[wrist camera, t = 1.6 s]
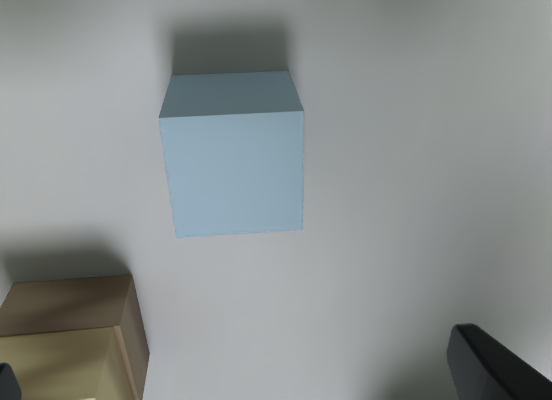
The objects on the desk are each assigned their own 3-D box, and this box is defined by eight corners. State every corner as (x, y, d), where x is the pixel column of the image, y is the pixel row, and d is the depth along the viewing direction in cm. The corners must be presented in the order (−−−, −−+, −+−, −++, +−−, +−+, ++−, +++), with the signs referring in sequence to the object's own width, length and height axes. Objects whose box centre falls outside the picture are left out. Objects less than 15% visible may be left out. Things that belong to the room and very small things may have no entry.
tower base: (132, 272, 24) (119, 325, 21) (150, 351, 26) (140, 408, 24) (15, 280, 23) (-16, 336, 20) (45, 360, 26) (22, 418, 23)
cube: (287, 70, 19) (304, 111, 15) (288, 171, 21) (302, 229, 18) (171, 74, 19) (158, 117, 15) (184, 177, 21) (176, 237, 17)
